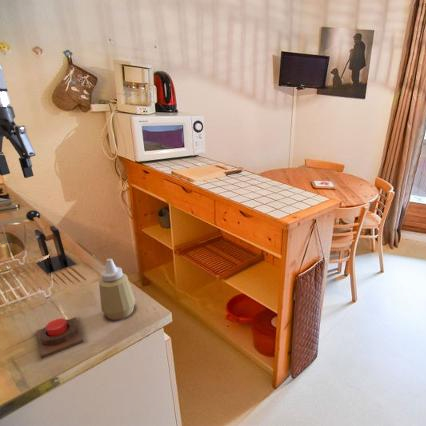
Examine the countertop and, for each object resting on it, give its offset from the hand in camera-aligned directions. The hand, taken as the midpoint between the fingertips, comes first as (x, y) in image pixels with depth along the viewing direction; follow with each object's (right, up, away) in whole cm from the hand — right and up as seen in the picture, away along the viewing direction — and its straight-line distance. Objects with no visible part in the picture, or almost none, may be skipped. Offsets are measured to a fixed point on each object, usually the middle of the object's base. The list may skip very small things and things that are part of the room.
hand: (17, 175), depth 108 cm
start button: (+39, -42, -30) cm, 64 cm away
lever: (+10, -18, -2) cm, 21 cm away
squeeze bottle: (+47, -42, -18) cm, 66 cm away
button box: (+38, -45, -28) cm, 65 cm away
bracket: (+14, -31, 0) cm, 34 cm away
